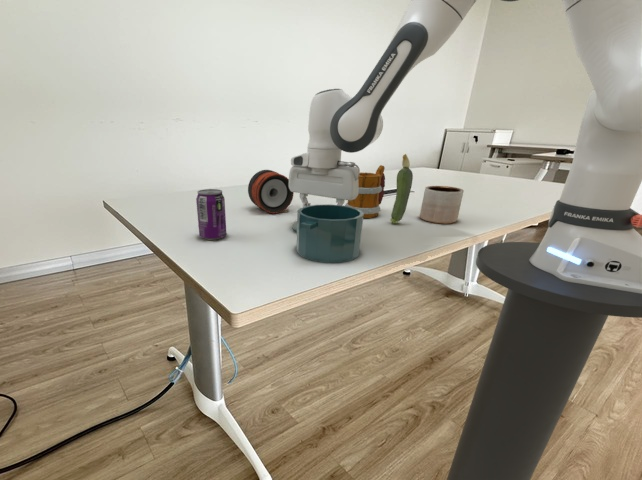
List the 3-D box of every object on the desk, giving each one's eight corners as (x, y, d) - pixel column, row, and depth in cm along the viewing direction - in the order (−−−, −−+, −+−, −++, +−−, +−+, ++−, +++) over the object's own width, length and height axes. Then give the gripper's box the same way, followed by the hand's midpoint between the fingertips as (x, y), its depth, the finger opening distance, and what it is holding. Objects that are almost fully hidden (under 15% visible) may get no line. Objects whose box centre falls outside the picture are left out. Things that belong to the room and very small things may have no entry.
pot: (374, 246, 84) (379, 208, 80) (333, 272, 70) (336, 227, 66) (323, 235, 93) (325, 200, 89) (277, 255, 79) (277, 215, 75)
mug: (337, 214, 114) (341, 166, 108) (367, 206, 124) (372, 163, 117) (364, 220, 106) (370, 170, 100) (393, 212, 116) (400, 166, 110)
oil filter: (257, 215, 112) (256, 174, 106) (246, 207, 122) (245, 169, 117) (293, 212, 116) (294, 172, 110) (279, 204, 126) (280, 167, 121)
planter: (439, 214, 114) (445, 184, 110) (465, 222, 105) (472, 191, 101) (411, 216, 111) (417, 186, 107) (435, 225, 102) (442, 193, 98)
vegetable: (400, 221, 106) (411, 152, 97) (408, 225, 102) (420, 154, 93) (387, 222, 105) (397, 153, 96) (394, 226, 101) (405, 154, 93)
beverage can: (229, 239, 89) (226, 192, 84) (201, 242, 87) (197, 194, 82) (223, 232, 95) (221, 188, 90) (197, 234, 93) (193, 189, 88)
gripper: (366, 161, 86) (360, 215, 92) (299, 156, 98) (297, 204, 104) (354, 163, 82) (348, 220, 87) (285, 158, 93) (284, 208, 99)
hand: (320, 212), depth 96 cm, fingers open, 8 cm apart
